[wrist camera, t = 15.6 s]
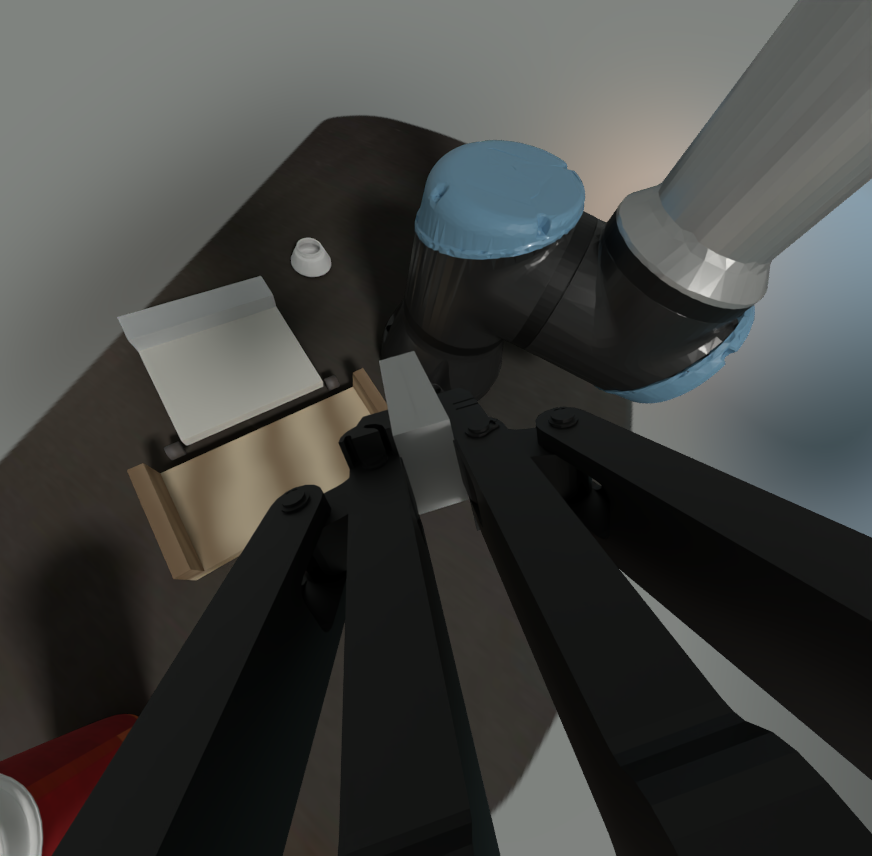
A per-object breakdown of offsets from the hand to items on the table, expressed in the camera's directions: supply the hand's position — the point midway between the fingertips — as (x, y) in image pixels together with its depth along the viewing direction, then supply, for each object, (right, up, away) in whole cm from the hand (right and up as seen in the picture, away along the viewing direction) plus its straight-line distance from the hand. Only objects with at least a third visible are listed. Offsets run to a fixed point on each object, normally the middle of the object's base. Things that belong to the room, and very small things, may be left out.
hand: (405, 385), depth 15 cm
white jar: (-15, +20, +33) cm, 42 cm away
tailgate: (-16, 0, +20) cm, 26 cm away
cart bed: (-14, -5, +22) cm, 26 cm away
